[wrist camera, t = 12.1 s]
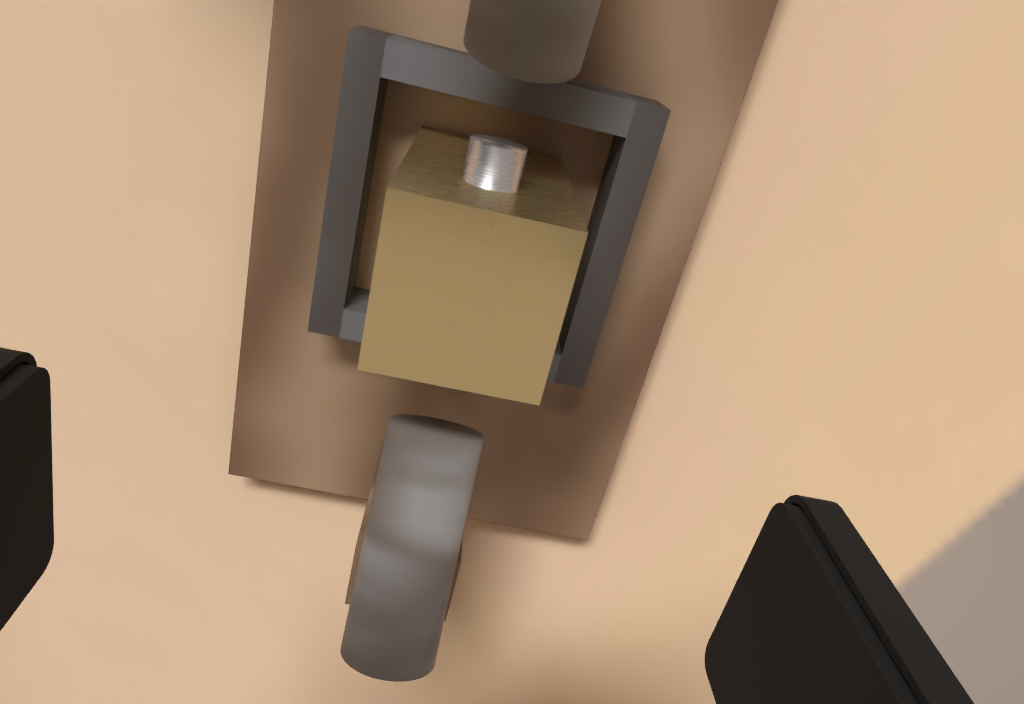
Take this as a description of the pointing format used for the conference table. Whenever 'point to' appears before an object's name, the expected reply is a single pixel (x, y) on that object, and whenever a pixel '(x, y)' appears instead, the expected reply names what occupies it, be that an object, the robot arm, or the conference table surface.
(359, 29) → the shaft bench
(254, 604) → the conference table surface
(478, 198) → the block
